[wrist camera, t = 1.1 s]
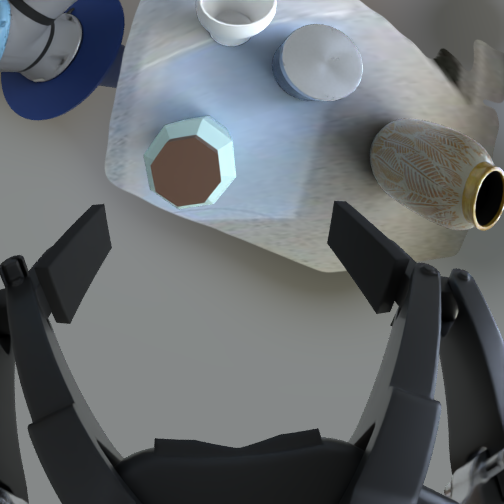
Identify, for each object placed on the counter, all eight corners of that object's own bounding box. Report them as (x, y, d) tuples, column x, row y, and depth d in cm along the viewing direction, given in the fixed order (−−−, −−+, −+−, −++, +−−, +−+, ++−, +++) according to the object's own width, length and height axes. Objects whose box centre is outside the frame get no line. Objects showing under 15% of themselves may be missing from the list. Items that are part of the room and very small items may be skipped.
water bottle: (191, 179, 49) (170, 241, 27) (163, 133, 44) (113, 158, 22) (240, 152, 47) (260, 191, 25) (212, 104, 42) (206, 97, 21)
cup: (210, -1, 32) (208, -38, 19) (269, 12, 34) (289, -21, 21) (193, 47, 37) (183, 22, 24) (253, 59, 39) (268, 39, 26)
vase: (416, 196, 55) (499, 253, 32) (355, 190, 53) (440, 255, 30) (429, 125, 47) (525, 155, 24) (366, 107, 45) (470, 124, 21)
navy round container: (274, 30, 36) (286, 15, 29) (343, 46, 38) (365, 37, 31) (266, 95, 43) (277, 92, 35) (335, 107, 45) (357, 109, 37)
